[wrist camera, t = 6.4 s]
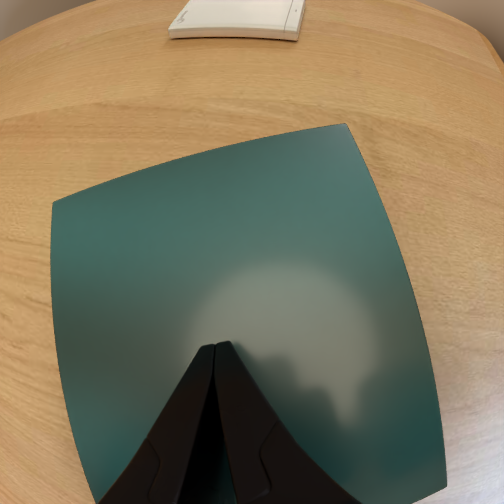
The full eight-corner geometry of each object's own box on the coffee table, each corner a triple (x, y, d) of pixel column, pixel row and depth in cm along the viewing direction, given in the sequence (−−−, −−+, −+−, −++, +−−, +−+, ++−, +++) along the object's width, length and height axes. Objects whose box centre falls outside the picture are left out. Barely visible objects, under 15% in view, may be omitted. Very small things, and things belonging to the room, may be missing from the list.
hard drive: (166, 28, 24) (297, 29, 22) (194, -6, 26) (305, -5, 24) (170, 40, 25) (297, 43, 23) (197, 4, 27) (305, 6, 26)
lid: (61, 209, 12) (51, 201, 11) (343, 134, 12) (346, 122, 11) (120, 534, 8) (112, 542, 7) (438, 480, 8) (448, 486, 7)
